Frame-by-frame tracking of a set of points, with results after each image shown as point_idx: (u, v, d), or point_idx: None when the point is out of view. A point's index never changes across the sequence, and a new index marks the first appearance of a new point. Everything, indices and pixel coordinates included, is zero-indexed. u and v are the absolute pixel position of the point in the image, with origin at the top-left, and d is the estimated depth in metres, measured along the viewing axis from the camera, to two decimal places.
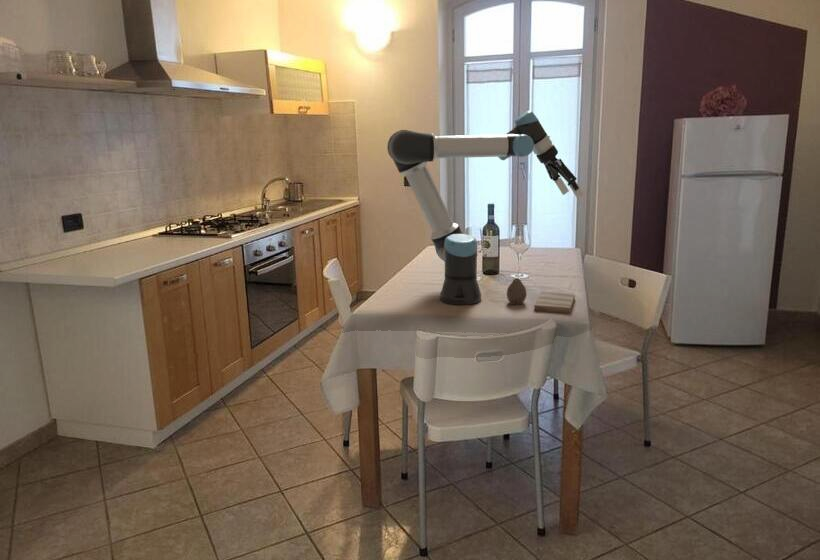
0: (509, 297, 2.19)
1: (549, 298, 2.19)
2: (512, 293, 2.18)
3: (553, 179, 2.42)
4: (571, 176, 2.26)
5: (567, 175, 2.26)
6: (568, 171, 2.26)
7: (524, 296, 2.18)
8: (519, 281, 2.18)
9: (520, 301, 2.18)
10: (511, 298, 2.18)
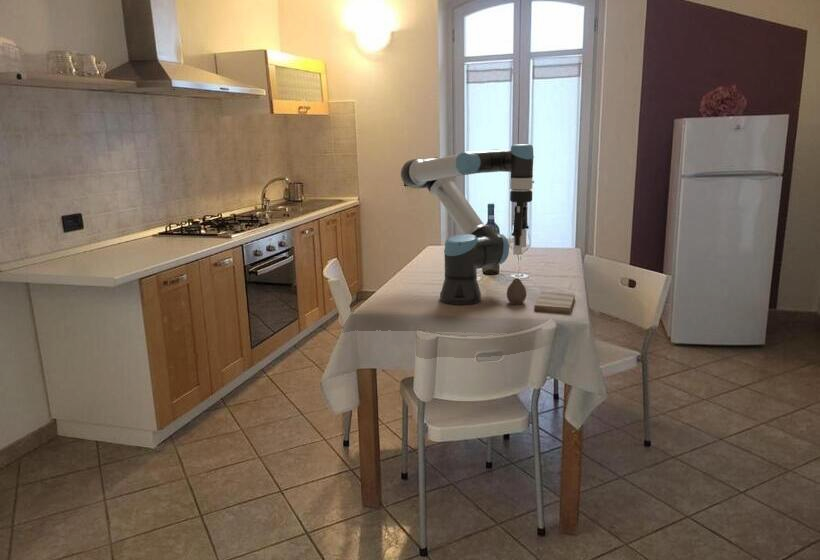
0: (509, 297, 2.19)
1: (549, 298, 2.19)
2: (512, 293, 2.18)
3: None
4: (517, 228, 2.06)
5: (515, 225, 2.06)
6: (519, 222, 2.06)
7: (524, 296, 2.18)
8: (519, 281, 2.18)
9: (520, 301, 2.18)
10: (511, 298, 2.18)
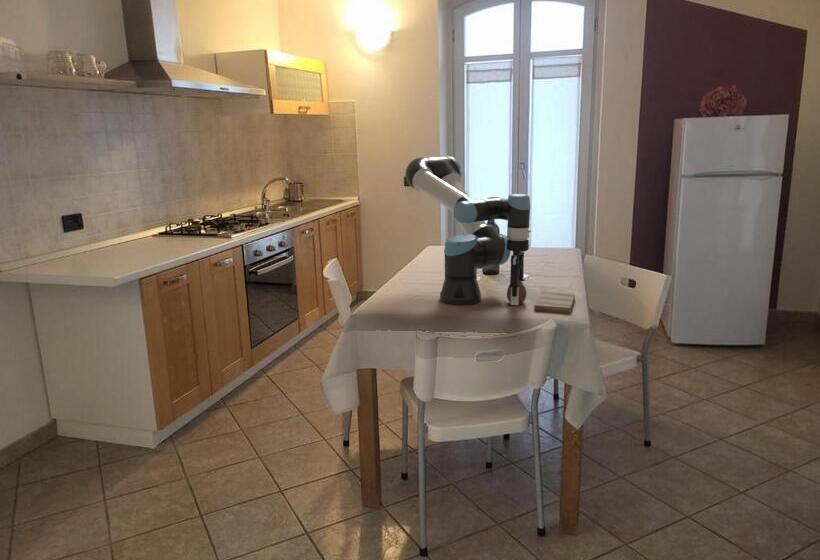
0: (509, 297, 2.19)
1: (549, 298, 2.19)
2: None
3: None
4: (514, 281, 2.13)
5: (512, 278, 2.13)
6: (515, 275, 2.12)
7: (524, 296, 2.18)
8: (519, 281, 2.18)
9: (520, 301, 2.18)
10: None
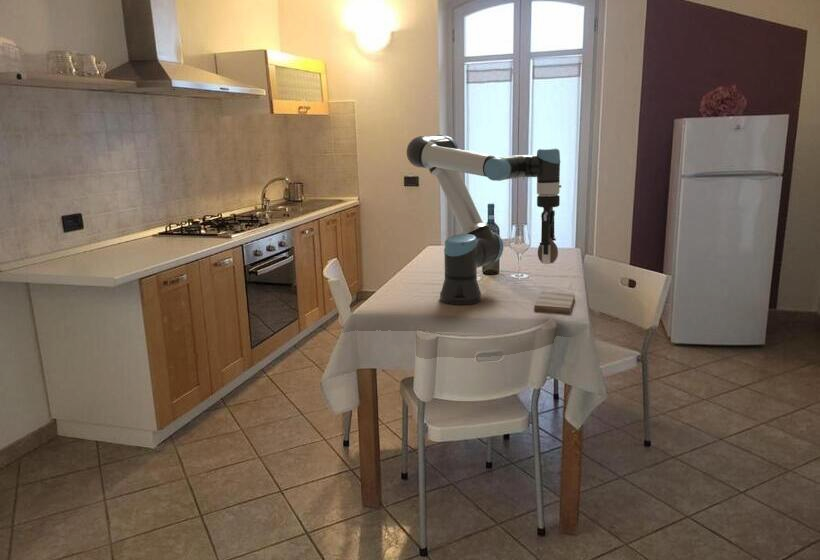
0: (540, 256, 2.12)
1: (549, 298, 2.19)
2: None
3: None
4: (545, 238, 2.06)
5: (543, 234, 2.06)
6: (546, 232, 2.06)
7: (556, 254, 2.11)
8: (550, 239, 2.12)
9: (552, 260, 2.11)
10: None
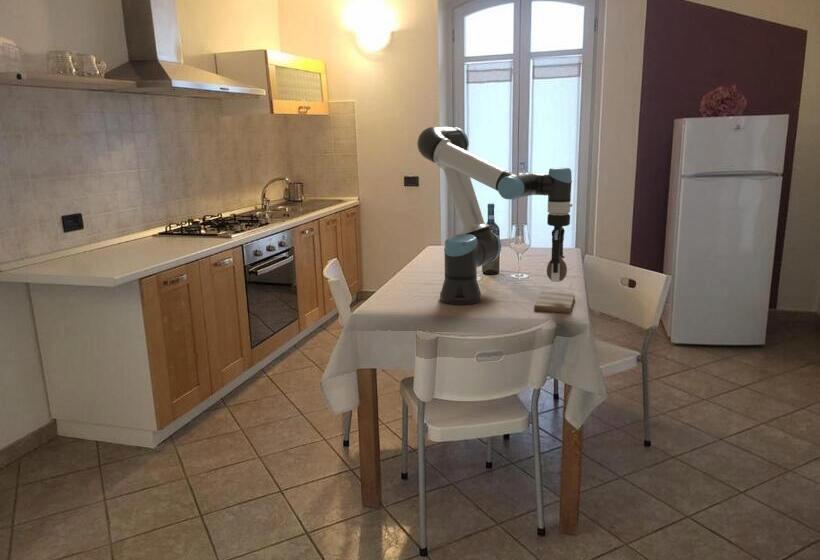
0: (549, 274, 2.14)
1: (549, 298, 2.19)
2: None
3: None
4: (556, 257, 2.07)
5: (553, 253, 2.07)
6: (557, 250, 2.07)
7: (565, 272, 2.13)
8: (560, 257, 2.13)
9: (561, 278, 2.13)
10: None
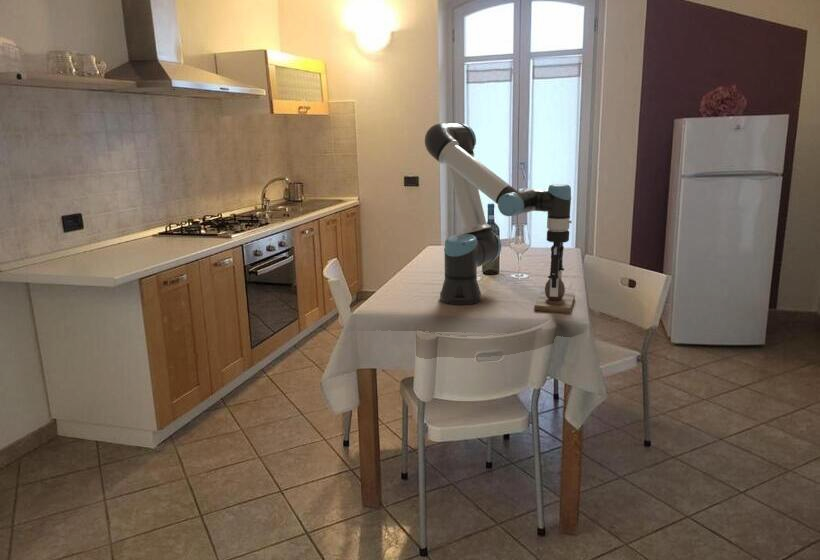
0: (548, 293, 2.15)
1: None
2: None
3: None
4: (554, 272, 2.07)
5: (552, 268, 2.08)
6: (556, 265, 2.07)
7: (563, 292, 2.15)
8: None
9: (559, 297, 2.14)
10: (549, 294, 2.15)
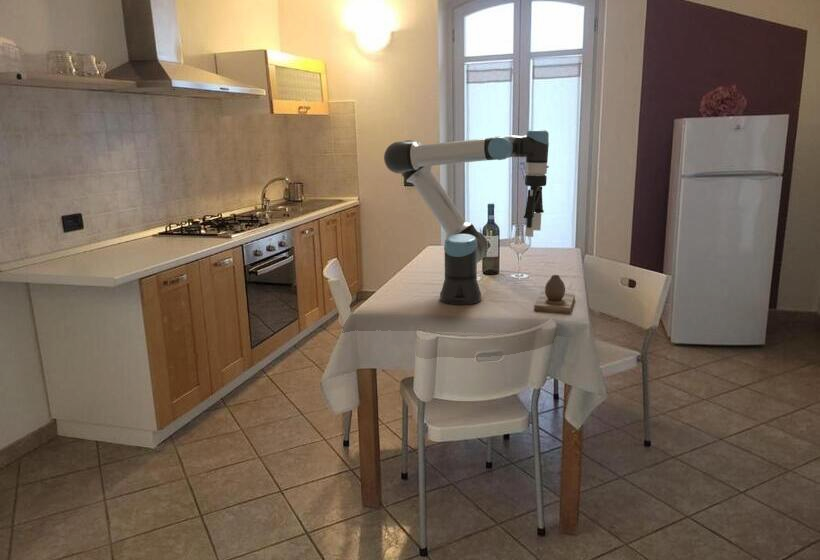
0: (548, 293, 2.15)
1: None
2: (551, 290, 2.14)
3: (534, 210, 2.30)
4: (529, 211, 2.14)
5: (527, 208, 2.15)
6: (531, 205, 2.15)
7: (563, 292, 2.15)
8: (558, 277, 2.14)
9: (559, 297, 2.15)
10: (550, 294, 2.15)
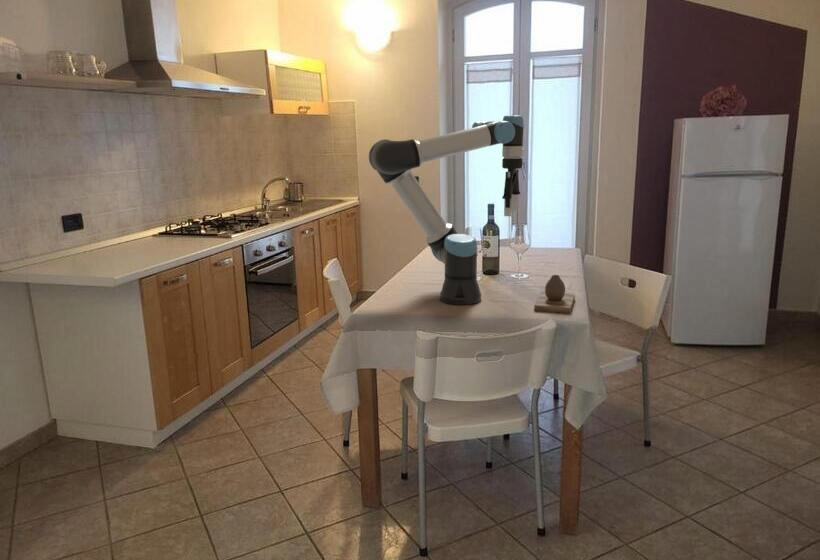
0: (548, 293, 2.15)
1: None
2: (551, 290, 2.14)
3: (511, 192, 2.43)
4: (507, 192, 2.27)
5: (505, 189, 2.27)
6: (509, 186, 2.27)
7: (563, 292, 2.15)
8: (558, 277, 2.14)
9: (559, 297, 2.15)
10: (550, 294, 2.15)
